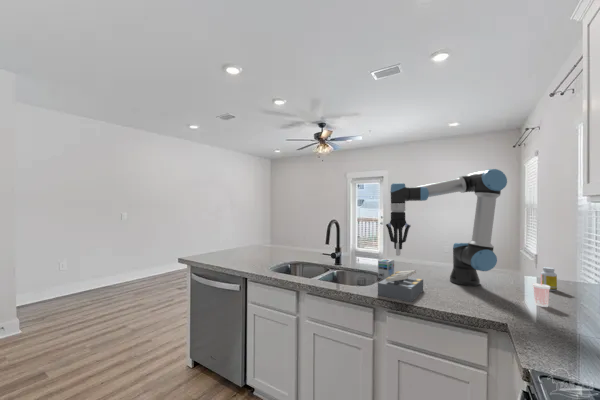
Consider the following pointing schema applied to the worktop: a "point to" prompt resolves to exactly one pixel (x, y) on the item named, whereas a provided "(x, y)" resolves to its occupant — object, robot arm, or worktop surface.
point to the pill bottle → (549, 278)
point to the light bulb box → (385, 268)
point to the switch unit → (401, 288)
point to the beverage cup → (541, 294)
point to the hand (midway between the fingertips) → (398, 255)
